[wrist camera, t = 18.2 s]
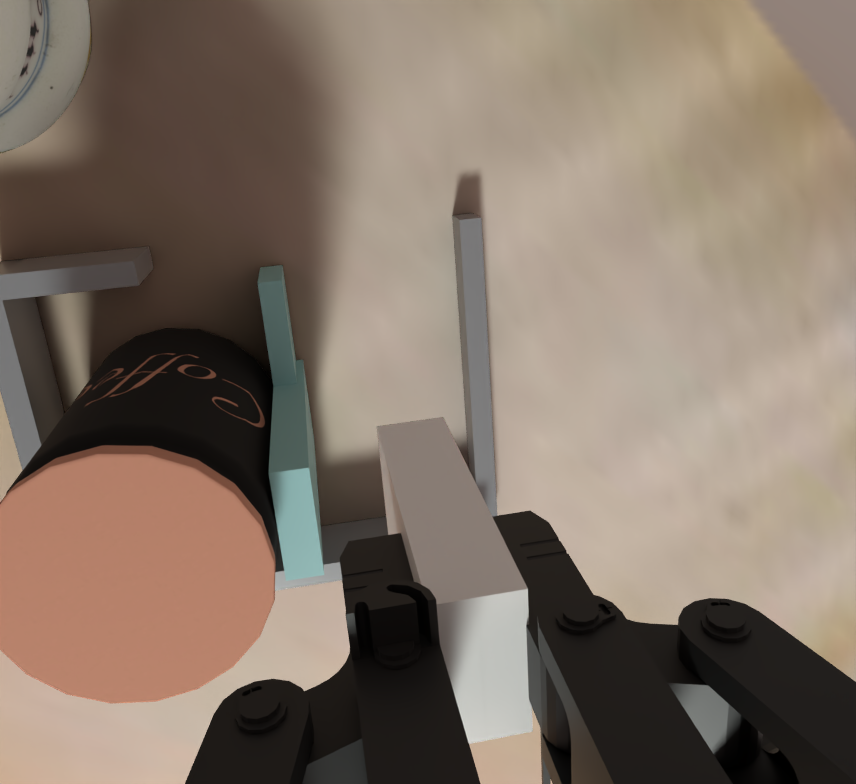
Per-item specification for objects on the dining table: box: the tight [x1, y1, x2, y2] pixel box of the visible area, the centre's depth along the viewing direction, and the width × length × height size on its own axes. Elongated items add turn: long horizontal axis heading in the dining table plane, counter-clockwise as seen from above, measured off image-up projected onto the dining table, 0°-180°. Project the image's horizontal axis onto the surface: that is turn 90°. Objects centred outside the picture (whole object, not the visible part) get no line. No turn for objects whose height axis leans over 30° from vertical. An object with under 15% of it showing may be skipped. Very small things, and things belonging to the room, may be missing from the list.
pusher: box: [258, 265, 324, 581], centre depth 39 cm, size 16×2×15 cm, turn 4°
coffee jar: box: [0, 328, 277, 703], centre depth 37 cm, size 11×11×18 cm
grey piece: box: [0, 213, 497, 591], centre depth 44 cm, size 19×25×4 cm
